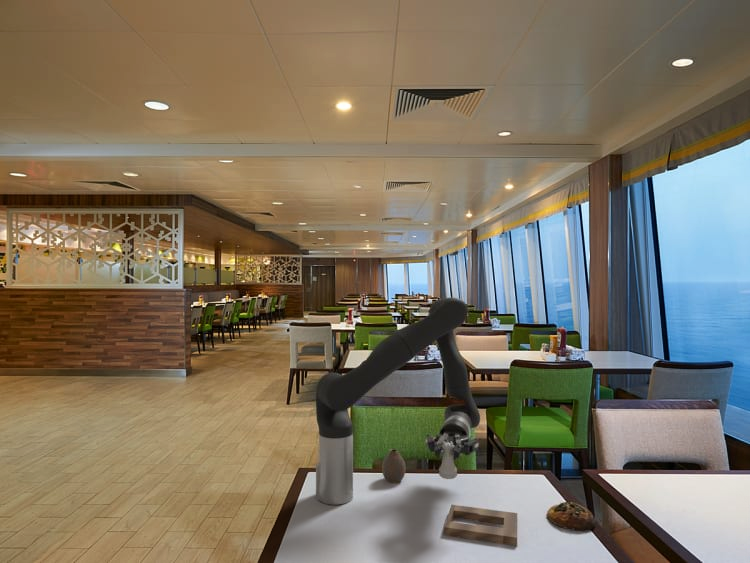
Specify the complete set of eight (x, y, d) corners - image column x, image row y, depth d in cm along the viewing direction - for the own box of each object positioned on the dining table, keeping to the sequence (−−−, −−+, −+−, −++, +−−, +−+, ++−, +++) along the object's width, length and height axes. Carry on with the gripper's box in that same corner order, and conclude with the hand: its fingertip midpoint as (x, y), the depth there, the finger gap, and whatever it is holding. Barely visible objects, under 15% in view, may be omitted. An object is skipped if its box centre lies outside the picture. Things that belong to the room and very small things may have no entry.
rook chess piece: (446, 481, 110) (445, 446, 110) (435, 474, 114) (434, 441, 114) (461, 477, 112) (461, 443, 112) (449, 470, 116) (449, 438, 116)
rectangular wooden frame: (444, 535, 108) (444, 527, 108) (451, 511, 119) (451, 504, 119) (517, 546, 103) (517, 537, 103) (517, 520, 115) (517, 513, 115)
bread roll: (587, 537, 107) (584, 513, 108) (540, 527, 114) (537, 505, 115) (603, 521, 115) (600, 499, 116) (558, 513, 123) (555, 493, 123)
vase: (403, 486, 135) (403, 455, 135) (380, 484, 137) (380, 453, 137) (407, 476, 142) (406, 447, 142) (384, 475, 143) (384, 446, 144)
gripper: (429, 416, 129) (416, 436, 112) (482, 420, 125) (477, 441, 108) (429, 444, 129) (416, 467, 112) (482, 449, 125) (477, 474, 108)
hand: (446, 454), depth 110 cm, fingers closed on rook chess piece, 3 cm apart
